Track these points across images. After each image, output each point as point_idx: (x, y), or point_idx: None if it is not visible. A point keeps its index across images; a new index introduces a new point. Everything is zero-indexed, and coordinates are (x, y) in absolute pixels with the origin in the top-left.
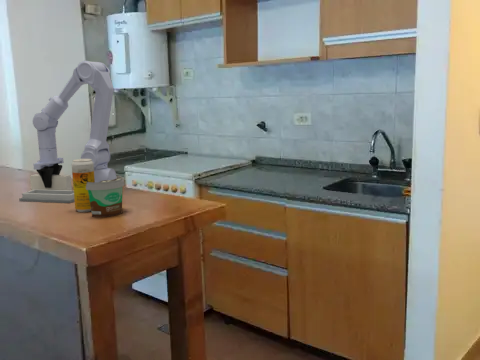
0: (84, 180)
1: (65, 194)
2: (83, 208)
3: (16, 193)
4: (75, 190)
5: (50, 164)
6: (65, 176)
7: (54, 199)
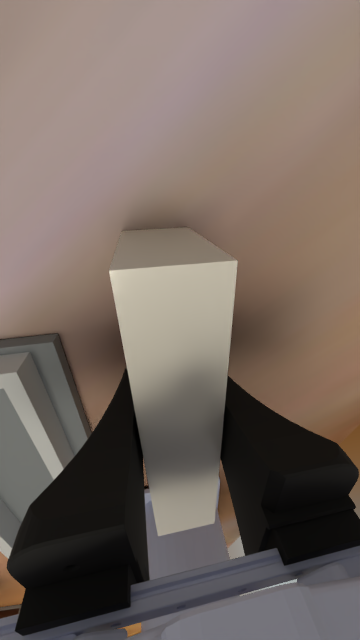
0: None
1: (6, 545)
2: None
3: (34, 100)
4: None
5: (232, 594)
6: (160, 534)
7: None
